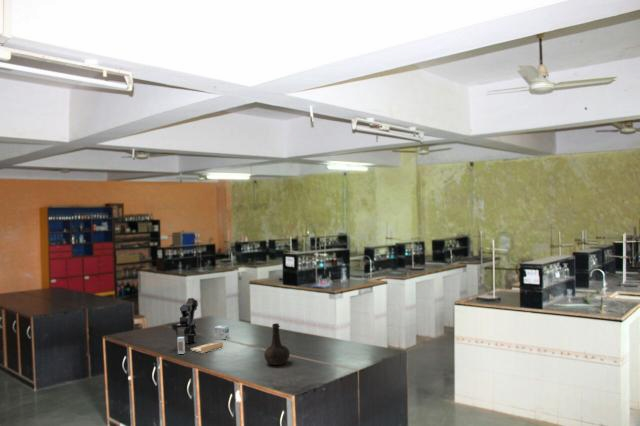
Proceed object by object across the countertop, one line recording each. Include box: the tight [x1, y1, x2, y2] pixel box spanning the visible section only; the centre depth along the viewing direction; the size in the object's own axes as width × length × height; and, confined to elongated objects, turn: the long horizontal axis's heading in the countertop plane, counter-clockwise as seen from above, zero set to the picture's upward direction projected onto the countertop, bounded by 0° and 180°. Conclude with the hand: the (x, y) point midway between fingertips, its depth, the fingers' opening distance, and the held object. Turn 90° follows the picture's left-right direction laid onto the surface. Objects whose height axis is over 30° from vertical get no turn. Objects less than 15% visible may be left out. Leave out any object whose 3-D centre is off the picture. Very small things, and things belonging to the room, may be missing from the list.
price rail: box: [201, 341, 224, 352], centre depth 400 cm, size 1×20×3 cm, turn 138°
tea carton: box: [176, 336, 186, 355], centre depth 395 cm, size 4×4×13 cm
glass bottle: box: [263, 323, 290, 366], centre depth 359 cm, size 18×18×28 cm
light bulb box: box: [214, 325, 230, 340], centre depth 439 cm, size 11×7×11 cm, turn 65°
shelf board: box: [189, 342, 224, 354], centre depth 405 cm, size 16×20×2 cm
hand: (182, 335), depth 403 cm, fingers open, 9 cm apart
